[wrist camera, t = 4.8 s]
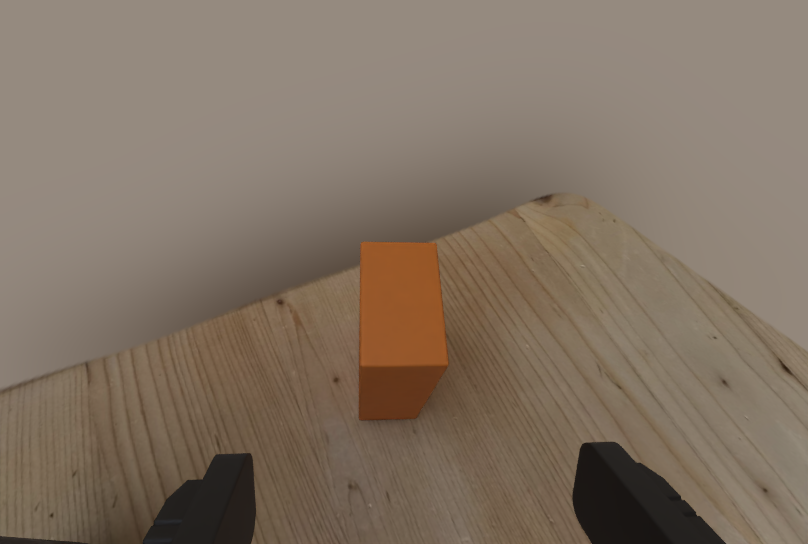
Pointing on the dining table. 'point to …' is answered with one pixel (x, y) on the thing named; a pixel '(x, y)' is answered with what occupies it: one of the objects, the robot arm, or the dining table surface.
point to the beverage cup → (32, 541)
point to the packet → (399, 329)
